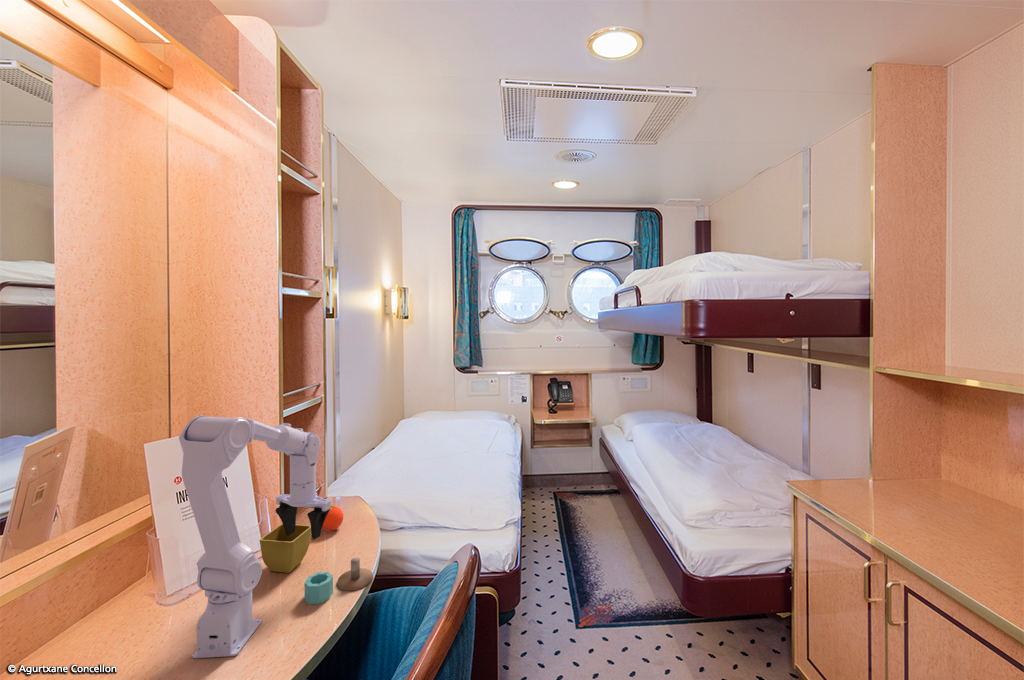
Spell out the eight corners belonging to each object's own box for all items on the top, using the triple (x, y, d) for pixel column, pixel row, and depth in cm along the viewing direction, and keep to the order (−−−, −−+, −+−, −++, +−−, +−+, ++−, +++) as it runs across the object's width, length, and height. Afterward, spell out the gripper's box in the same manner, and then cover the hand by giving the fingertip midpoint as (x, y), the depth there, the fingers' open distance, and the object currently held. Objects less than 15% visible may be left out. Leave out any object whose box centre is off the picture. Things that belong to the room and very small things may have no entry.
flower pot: (313, 558, 110) (312, 525, 110) (292, 578, 102) (292, 541, 101) (281, 556, 111) (281, 523, 111) (258, 576, 103) (258, 539, 102)
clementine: (325, 539, 121) (325, 514, 120) (310, 533, 124) (310, 509, 124) (348, 527, 127) (348, 504, 127) (333, 522, 131) (333, 499, 131)
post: (368, 590, 97) (367, 568, 97) (332, 591, 97) (332, 570, 97) (376, 570, 105) (376, 550, 105) (343, 571, 105) (343, 551, 104)
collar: (326, 603, 92) (326, 585, 92) (301, 604, 92) (301, 586, 92) (335, 588, 98) (335, 571, 98) (311, 589, 97) (311, 572, 97)
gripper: (339, 478, 105) (339, 531, 105) (291, 472, 109) (291, 524, 109) (319, 488, 98) (319, 545, 98) (268, 482, 102) (269, 537, 102)
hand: (303, 535), depth 103 cm, fingers open, 7 cm apart
